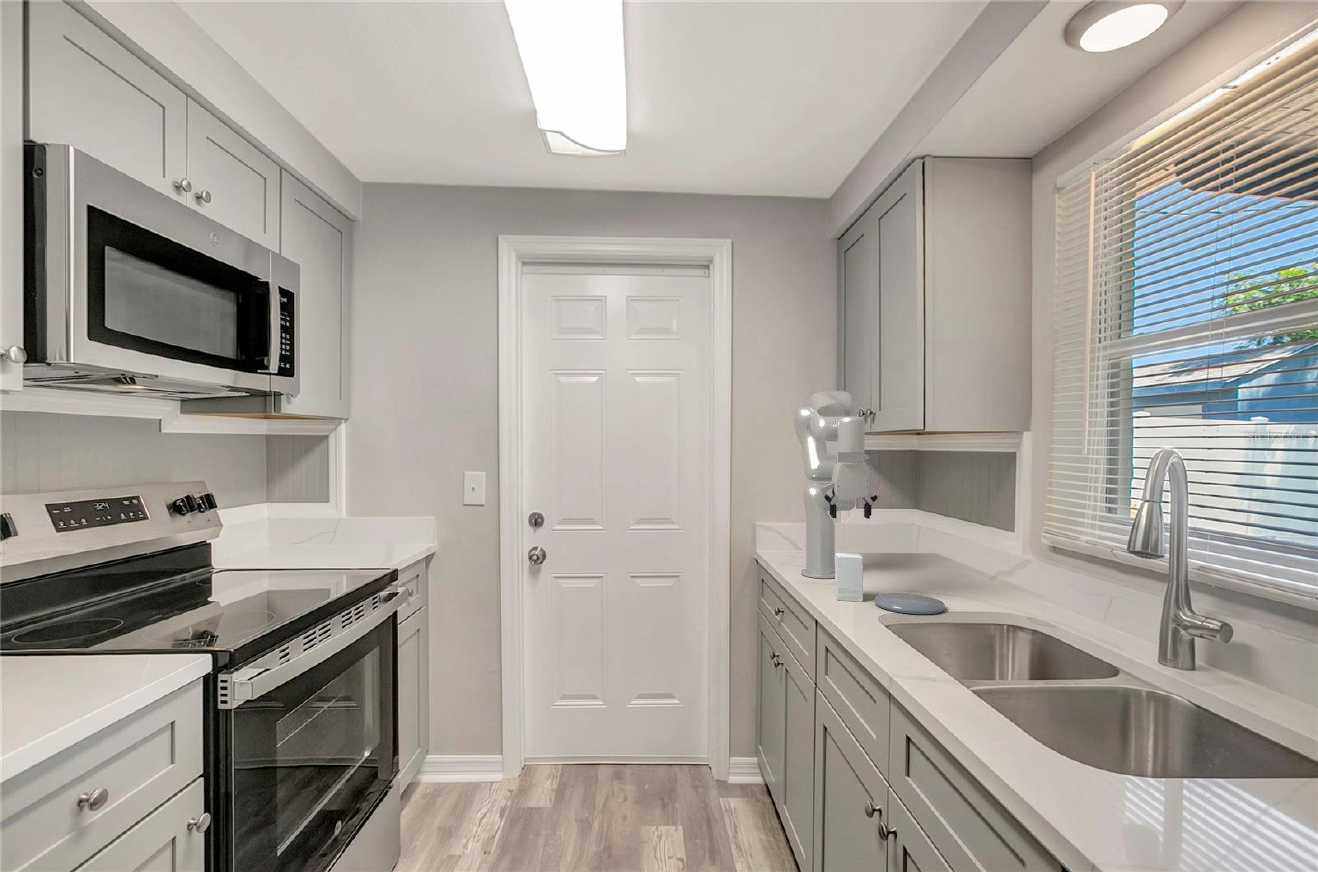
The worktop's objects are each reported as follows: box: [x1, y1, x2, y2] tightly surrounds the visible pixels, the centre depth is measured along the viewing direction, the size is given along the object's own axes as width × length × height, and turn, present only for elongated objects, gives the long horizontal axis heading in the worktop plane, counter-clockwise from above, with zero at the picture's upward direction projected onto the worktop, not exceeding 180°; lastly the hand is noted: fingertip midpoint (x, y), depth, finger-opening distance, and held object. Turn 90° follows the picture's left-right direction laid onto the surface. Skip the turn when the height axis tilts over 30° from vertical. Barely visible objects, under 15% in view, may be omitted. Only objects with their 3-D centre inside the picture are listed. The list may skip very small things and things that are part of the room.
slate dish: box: [874, 592, 946, 615], centre depth 173 cm, size 18×18×2 cm
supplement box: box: [834, 552, 864, 603], centre depth 182 cm, size 7×7×13 cm
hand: (850, 517), depth 181 cm, fingers open, 9 cm apart
